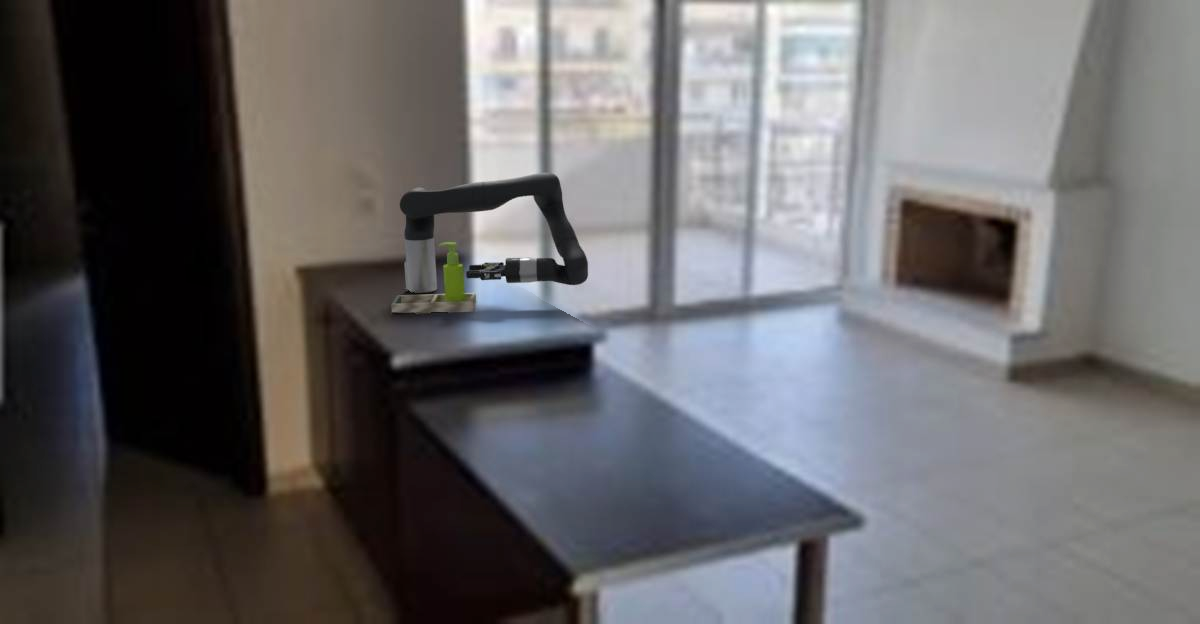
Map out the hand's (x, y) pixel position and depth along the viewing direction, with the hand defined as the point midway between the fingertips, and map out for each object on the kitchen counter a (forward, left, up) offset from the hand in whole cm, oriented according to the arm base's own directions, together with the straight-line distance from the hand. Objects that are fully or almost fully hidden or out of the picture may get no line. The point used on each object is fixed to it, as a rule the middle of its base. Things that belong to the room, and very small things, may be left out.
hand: (467, 271), depth 313 cm
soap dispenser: (-4, -3, -11) cm, 12 cm away
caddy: (-9, -6, -11) cm, 15 cm away
